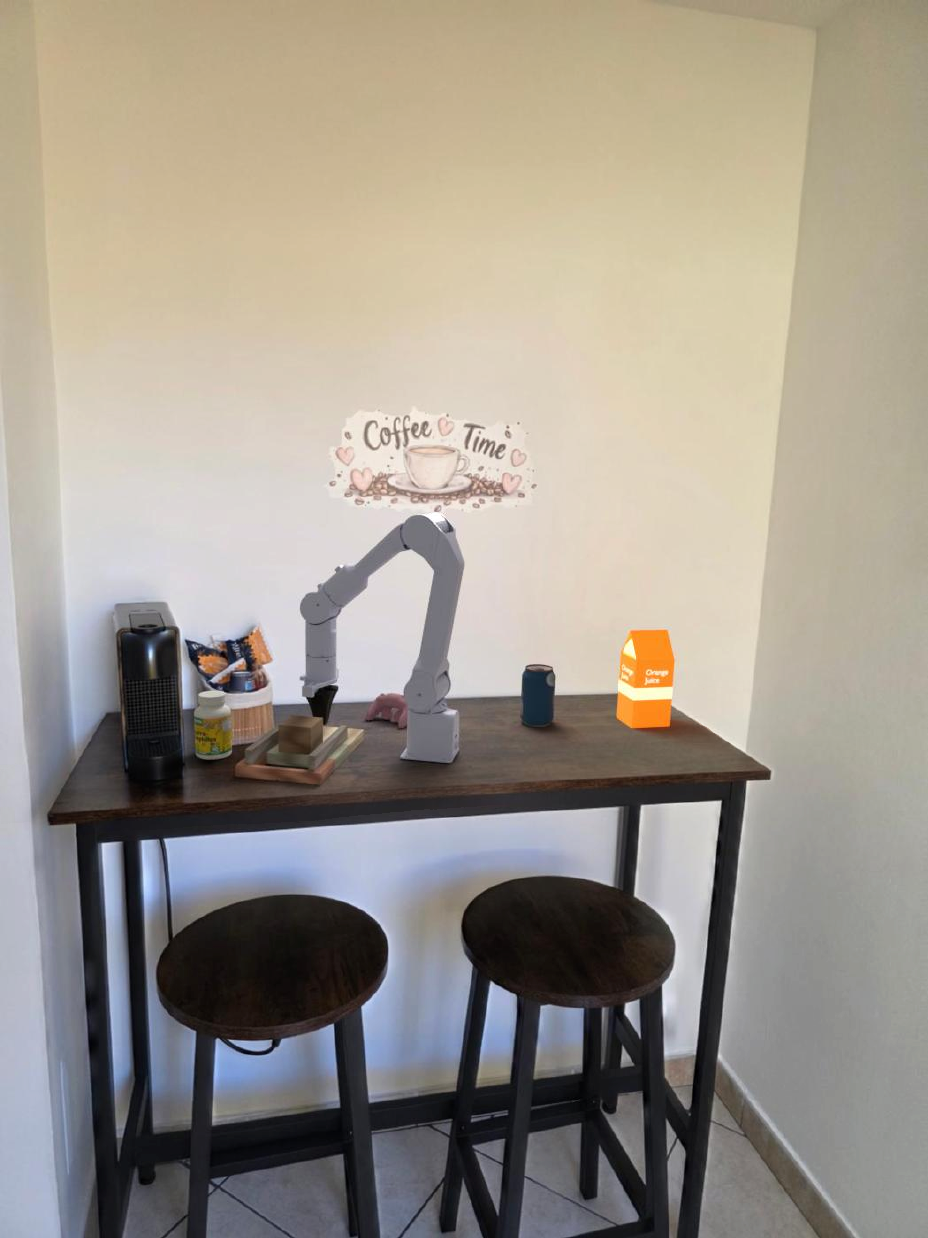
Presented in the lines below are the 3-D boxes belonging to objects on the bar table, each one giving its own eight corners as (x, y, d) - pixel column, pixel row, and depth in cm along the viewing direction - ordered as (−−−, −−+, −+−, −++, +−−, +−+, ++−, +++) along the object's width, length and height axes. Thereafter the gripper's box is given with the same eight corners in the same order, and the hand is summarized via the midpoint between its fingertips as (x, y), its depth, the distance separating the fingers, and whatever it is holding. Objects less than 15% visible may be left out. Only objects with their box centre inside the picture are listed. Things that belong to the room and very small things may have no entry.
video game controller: (412, 732, 170) (422, 700, 172) (400, 728, 166) (410, 694, 168) (374, 724, 175) (384, 692, 177) (362, 719, 171) (372, 686, 173)
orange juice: (670, 726, 174) (677, 633, 171) (631, 728, 172) (638, 634, 169) (652, 715, 182) (659, 626, 178) (615, 717, 180) (621, 626, 176)
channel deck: (363, 739, 160) (363, 717, 159) (320, 785, 137) (320, 759, 136) (290, 733, 163) (290, 710, 162) (235, 776, 139) (234, 751, 139)
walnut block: (322, 744, 151) (322, 717, 150) (311, 755, 145) (311, 727, 144) (291, 741, 152) (291, 715, 151) (278, 752, 146) (278, 724, 145)
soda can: (560, 724, 173) (562, 669, 171) (534, 729, 169) (536, 672, 167) (538, 716, 179) (541, 662, 177) (513, 720, 175) (515, 665, 173)
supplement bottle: (238, 751, 152) (237, 691, 150) (218, 762, 146) (217, 700, 144) (208, 746, 153) (207, 687, 151) (187, 757, 147) (186, 696, 145)
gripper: (314, 645, 163) (314, 711, 165) (285, 661, 149) (286, 734, 151) (348, 647, 162) (348, 714, 164) (323, 664, 148) (323, 737, 150)
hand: (321, 724), depth 158 cm, fingers closed
